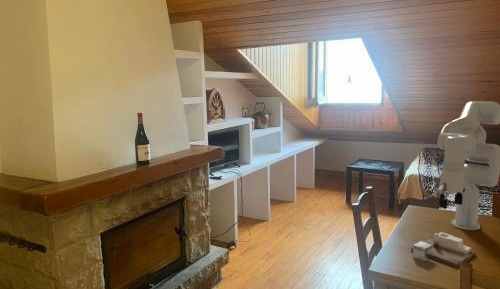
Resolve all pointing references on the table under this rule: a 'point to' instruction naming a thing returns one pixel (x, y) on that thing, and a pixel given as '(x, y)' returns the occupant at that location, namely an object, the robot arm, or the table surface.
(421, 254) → the block
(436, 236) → the cylinder
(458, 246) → the link
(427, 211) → the table surface
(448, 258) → the board
